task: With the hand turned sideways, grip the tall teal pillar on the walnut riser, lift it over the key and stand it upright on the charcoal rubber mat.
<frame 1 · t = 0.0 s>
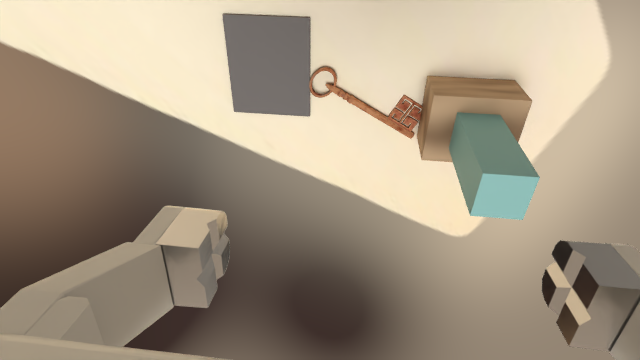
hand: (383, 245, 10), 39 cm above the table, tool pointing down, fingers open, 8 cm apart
tall teal pillar: (473, 132, 43), point 6 cm above the table, touching riser
mat: (269, 67, 48), on the table
riser: (463, 109, 48), on the table
key: (368, 99, 49), on the table, touching mat, riser
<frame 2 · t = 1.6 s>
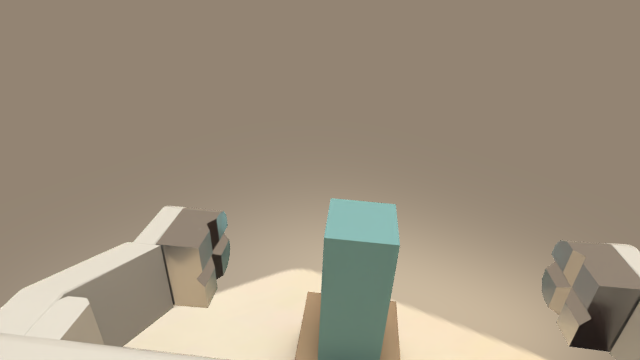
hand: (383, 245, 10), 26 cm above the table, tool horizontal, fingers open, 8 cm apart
tall teal pillar: (348, 343, 31), point 6 cm above the table, touching riser
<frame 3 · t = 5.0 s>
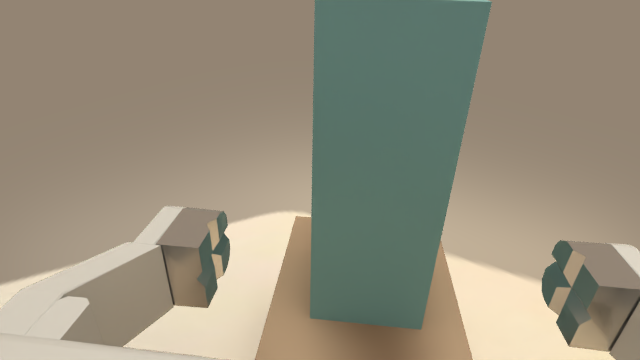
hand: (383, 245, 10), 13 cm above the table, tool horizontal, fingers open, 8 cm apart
tall teal pillar: (365, 284, 18), point 6 cm above the table, touching riser
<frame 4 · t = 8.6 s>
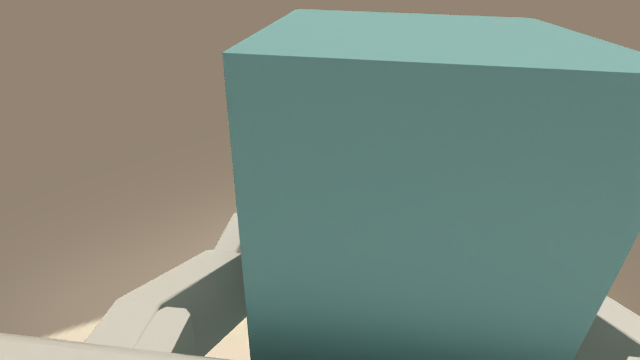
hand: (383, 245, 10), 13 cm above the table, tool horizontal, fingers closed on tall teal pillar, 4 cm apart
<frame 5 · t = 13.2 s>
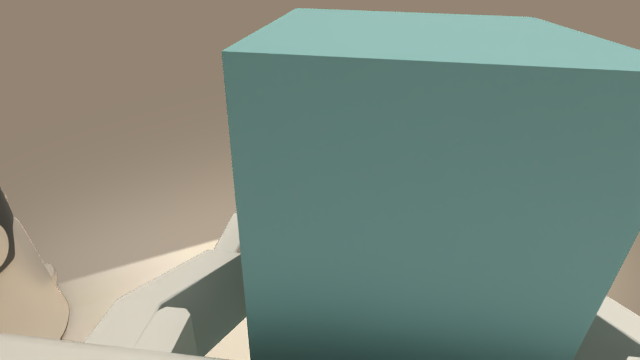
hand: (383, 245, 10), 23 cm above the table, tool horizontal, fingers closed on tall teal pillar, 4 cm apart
when the fingers open (8 cm above the table, at t = 18.0 s): tall teal pillar drops 1 cm, resting on mat.
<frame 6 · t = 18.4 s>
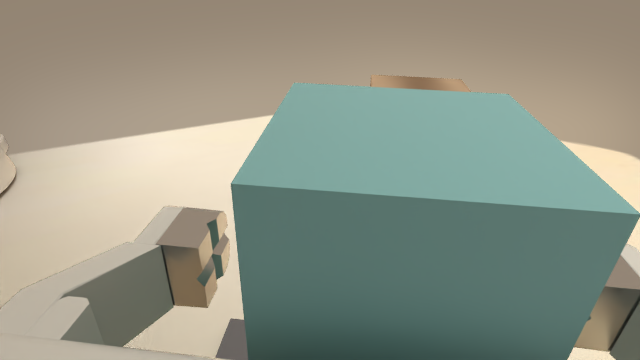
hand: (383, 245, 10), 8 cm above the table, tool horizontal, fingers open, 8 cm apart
riser: (411, 160, 34), on the table
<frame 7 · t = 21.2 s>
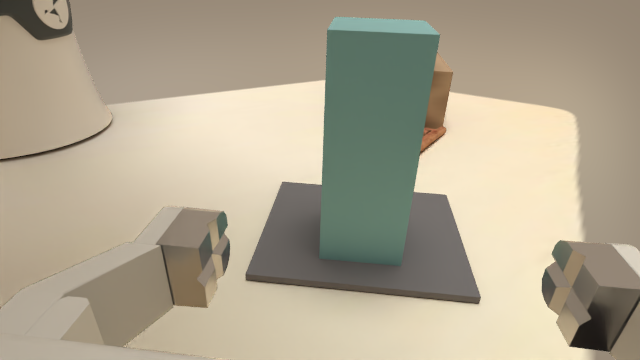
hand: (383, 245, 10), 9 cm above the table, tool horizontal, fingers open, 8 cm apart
tall teal pillar: (360, 237, 23), resting on mat
mat: (361, 233, 24), on the table
riser: (399, 112, 45), on the table
key: (401, 156, 35), on the table, touching mat, riser
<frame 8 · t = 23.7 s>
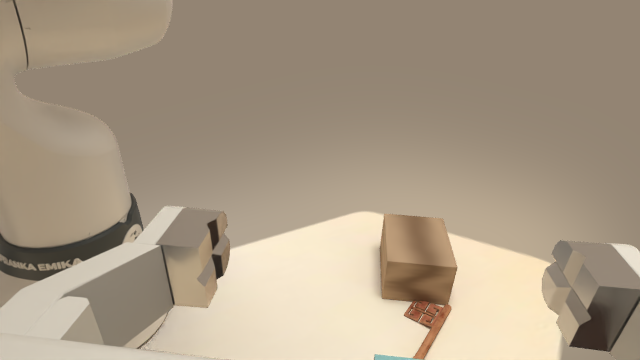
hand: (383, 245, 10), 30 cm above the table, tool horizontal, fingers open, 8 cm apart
riser: (410, 273, 53), on the table
key: (415, 348, 42), on the table, touching mat, riser
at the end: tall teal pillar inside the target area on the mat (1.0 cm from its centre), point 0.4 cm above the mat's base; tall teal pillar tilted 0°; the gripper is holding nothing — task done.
